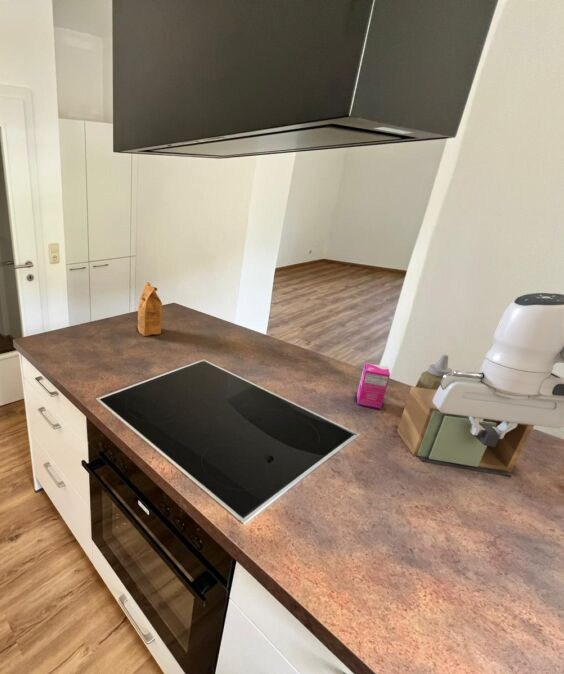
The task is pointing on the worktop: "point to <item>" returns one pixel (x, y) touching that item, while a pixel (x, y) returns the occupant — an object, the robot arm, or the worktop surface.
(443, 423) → the sliding door
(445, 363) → the squeeze bottle
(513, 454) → the cabinet
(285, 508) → the worktop surface
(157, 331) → the coffee package
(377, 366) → the supplement box
